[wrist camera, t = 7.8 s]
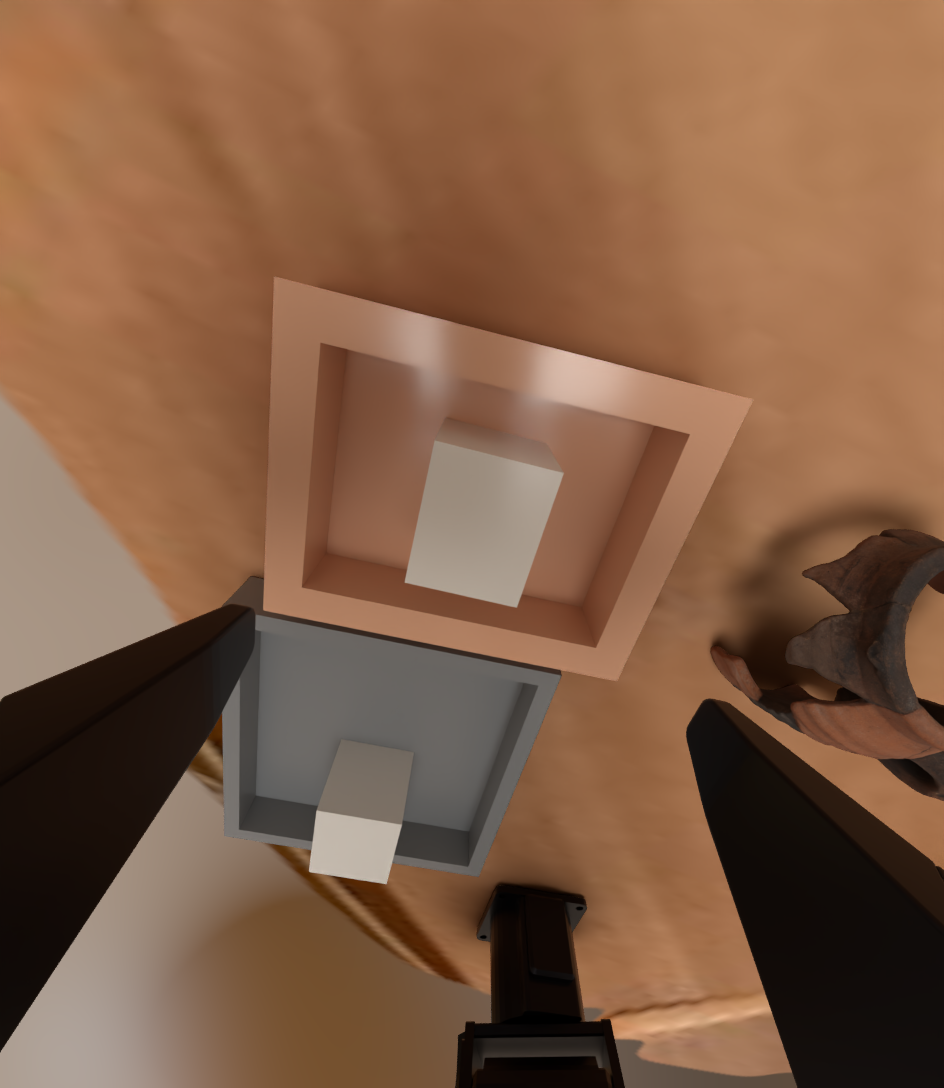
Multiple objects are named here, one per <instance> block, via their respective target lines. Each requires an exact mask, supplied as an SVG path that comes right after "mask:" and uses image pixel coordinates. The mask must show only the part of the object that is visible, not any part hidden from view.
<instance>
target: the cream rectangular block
mask: <svg viewBox="0 0 944 1088" xmlns="http://www.w3.org/2000/svg"><path fill="white" fill-rule="evenodd" d="M563 474H564V473H563V471H562V469H561V467H560V466H559V464H558V462H557V460H556V459H555V457H554V455H553V453H552V452H551V450H550V448H549V446H548V445H547V443H543V442H539V441H535V440H531V439H527V438H523V437H520V436H516V435H512V434H508V433H504V432H500V431H496V430H492V429H489V428H485V427H481V426H477V425H473V424H469V423H465V422H461V421H458V420H454V419H450V418H446V417H445V419H444V421H443V423H442V425H441V428H440V430H439V432H438V434H437V436H436V438H435V441H434V445H433V450H432V455H431V460H430V464H429V469H428V474H427V479H426V483H425V488H424V493H423V497H422V502H421V507H420V512H419V516H418V521H417V526H416V530H415V535H414V540H413V545H412V549H411V554H410V559H409V563H408V568H407V573H406V578H405V583H409V584H414V585H418V586H422V587H427V588H431V589H436V590H440V591H445V592H449V593H454V594H458V595H462V596H467V597H471V598H476V599H480V600H485V601H489V602H494V603H498V604H502V605H507V606H511V607H516V608H517V606H518V603H519V600H520V597H521V594H522V592H523V589H524V586H525V583H526V580H527V577H528V574H529V572H530V569H531V566H532V563H533V560H534V557H535V554H536V551H537V549H538V546H539V543H540V540H541V537H542V534H543V531H544V529H545V526H546V523H547V520H548V517H549V514H550V511H551V508H552V506H553V503H554V500H555V497H556V494H557V491H558V488H559V486H560V483H561V480H562V477H563Z"/></svg>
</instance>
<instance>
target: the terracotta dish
mask: <svg viewBox="0 0 944 1088" xmlns="http://www.w3.org/2000/svg"><path fill="white" fill-rule="evenodd" d="M752 402H753V399H749V398H746V397H742V396H738V395H734V394H730V393H726V392H722V391H718V390H714V389H711V388H707V387H703V386H699V385H695V384H691V383H687V382H683V381H679V380H676V379H672V378H668V377H664V376H660V375H656V374H652V373H648V372H644V371H641V370H637V369H633V368H629V367H625V366H621V365H617V364H613V363H609V362H606V361H602V360H598V359H594V358H590V357H586V356H582V355H578V354H574V353H571V352H567V351H563V350H559V349H555V348H551V347H547V346H543V345H539V344H535V343H532V342H528V341H524V340H520V339H516V338H512V337H508V336H504V335H500V334H497V333H493V332H489V331H485V330H481V329H477V328H473V327H469V326H465V325H462V324H458V323H454V322H450V321H446V320H442V319H438V318H434V317H430V316H427V315H423V314H419V313H415V312H411V311H407V310H403V309H399V308H395V307H392V306H388V305H384V304H380V303H376V302H372V301H368V300H364V299H360V298H357V297H353V296H349V295H345V294H341V293H337V292H333V291H329V290H325V289H322V288H318V287H314V286H310V285H306V284H302V283H298V282H294V281H290V280H287V279H283V278H279V277H275V276H274V295H273V325H272V356H271V386H270V416H269V447H268V477H267V507H266V538H265V568H264V598H263V610H264V611H269V612H274V613H278V614H283V615H288V616H293V617H298V618H303V619H308V620H313V621H318V622H323V623H328V624H333V625H338V626H343V627H348V628H353V629H358V630H363V631H368V632H373V633H378V634H383V635H388V636H393V637H398V638H403V639H408V640H413V641H418V642H423V643H428V644H433V645H438V646H443V647H448V648H453V649H458V650H463V651H468V652H473V653H478V654H483V655H488V656H493V657H498V658H503V659H508V660H513V661H518V662H523V663H528V664H533V665H538V666H543V667H548V668H553V669H558V670H563V671H568V672H573V673H578V674H583V675H588V676H593V677H598V678H603V679H608V680H613V681H617V680H618V678H619V676H620V674H621V672H622V670H623V668H624V666H625V664H626V661H627V659H628V657H629V655H630V653H631V651H632V649H633V647H634V645H635V643H636V641H637V639H638V637H639V635H640V633H641V631H642V628H643V626H644V624H645V622H646V620H647V618H648V616H649V614H650V612H651V610H652V608H653V606H654V604H655V602H656V600H657V598H658V596H659V593H660V591H661V589H662V587H663V585H664V583H665V581H666V579H667V577H668V575H669V573H670V571H671V569H672V567H673V565H674V563H675V560H676V558H677V556H678V554H679V552H680V550H681V548H682V546H683V544H684V542H685V540H686V538H687V536H688V534H689V532H690V530H691V527H692V525H693V523H694V521H695V519H696V517H697V515H698V513H699V511H700V509H701V507H702V505H703V503H704V501H705V499H706V497H707V495H708V492H709V490H710V488H711V486H712V484H713V482H714V480H715V478H716V476H717V474H718V472H719V470H720V468H721V466H722V464H723V462H724V459H725V457H726V455H727V453H728V451H729V449H730V447H731V445H732V443H733V441H734V439H735V437H736V435H737V433H738V431H739V429H740V426H741V424H742V422H743V420H744V418H745V416H746V414H747V412H748V410H749V408H750V406H751V404H752ZM445 417H446V418H450V419H454V420H458V421H461V422H465V423H469V424H473V425H477V426H481V427H485V428H489V429H492V430H496V431H500V432H504V433H508V434H512V435H516V436H520V437H523V438H527V439H531V440H535V441H539V442H543V443H547V445H548V446H549V448H550V450H551V452H552V453H553V455H554V457H555V459H556V460H557V462H558V464H559V466H560V467H561V469H562V471H563V473H564V474H563V477H562V480H561V483H560V486H559V488H558V491H557V494H556V497H555V500H554V503H553V506H552V508H551V511H550V514H549V517H548V520H547V523H546V526H545V529H544V531H543V534H542V537H541V540H540V543H539V546H538V549H537V551H536V554H535V557H534V560H533V563H532V566H531V569H530V572H529V574H528V577H527V580H526V583H525V586H524V589H523V592H522V594H521V597H520V600H519V603H518V606H517V608H516V607H511V606H507V605H502V604H498V603H494V602H489V601H485V600H480V599H476V598H471V597H467V596H462V595H458V594H454V593H449V592H445V591H440V590H436V589H431V588H427V587H422V586H418V585H414V584H409V583H405V578H406V573H407V568H408V563H409V559H410V554H411V549H412V545H413V540H414V535H415V530H416V526H417V521H418V516H419V512H420V507H421V502H422V497H423V493H424V488H425V483H426V479H427V474H428V469H429V464H430V460H431V455H432V450H433V445H434V441H435V438H436V436H437V434H438V432H439V430H440V428H441V425H442V423H443V421H444V419H445Z"/></svg>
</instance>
